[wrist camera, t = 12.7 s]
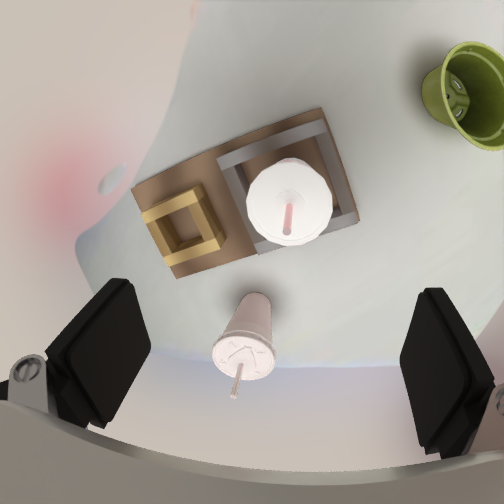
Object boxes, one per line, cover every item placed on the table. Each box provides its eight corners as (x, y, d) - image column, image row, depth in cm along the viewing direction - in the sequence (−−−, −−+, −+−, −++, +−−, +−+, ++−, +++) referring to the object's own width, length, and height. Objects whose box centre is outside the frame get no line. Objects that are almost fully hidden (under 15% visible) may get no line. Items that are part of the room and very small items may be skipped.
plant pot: (447, 157, 26) (489, 173, 18) (388, 91, 25) (420, 84, 17) (490, 105, 22) (537, 108, 15) (437, 39, 21) (476, 22, 13)
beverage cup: (334, 169, 28) (364, 212, 15) (303, 221, 31) (306, 297, 18) (278, 138, 27) (262, 154, 15) (250, 192, 30) (214, 250, 18)
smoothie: (225, 316, 39) (195, 401, 26) (236, 276, 36) (205, 360, 23) (272, 331, 39) (259, 419, 26) (288, 292, 36) (281, 381, 23)
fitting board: (320, 107, 27) (323, 105, 23) (357, 217, 31) (365, 231, 27) (135, 186, 33) (116, 196, 29) (179, 274, 37) (167, 292, 33)
